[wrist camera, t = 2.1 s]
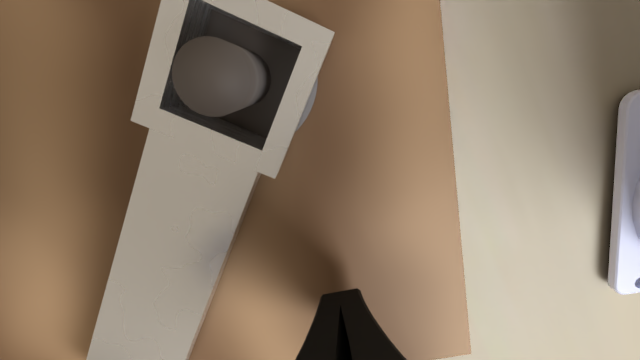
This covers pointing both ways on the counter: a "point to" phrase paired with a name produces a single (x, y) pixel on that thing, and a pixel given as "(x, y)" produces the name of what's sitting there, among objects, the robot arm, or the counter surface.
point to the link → (192, 185)
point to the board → (270, 194)
